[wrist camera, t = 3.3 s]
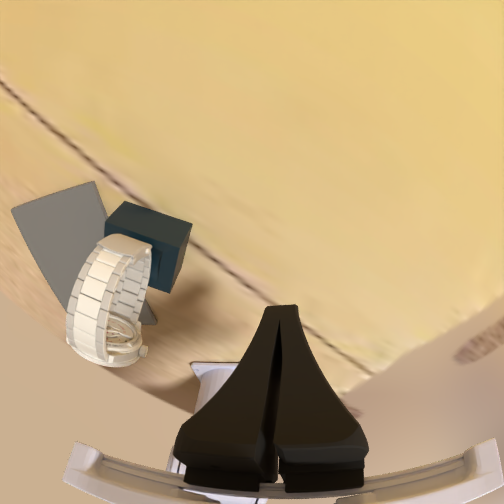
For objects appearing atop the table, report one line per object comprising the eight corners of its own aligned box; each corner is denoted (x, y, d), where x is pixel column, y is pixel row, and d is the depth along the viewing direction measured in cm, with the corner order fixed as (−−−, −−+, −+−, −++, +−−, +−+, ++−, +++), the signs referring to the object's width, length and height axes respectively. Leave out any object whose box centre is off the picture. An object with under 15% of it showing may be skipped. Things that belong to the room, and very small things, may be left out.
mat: (157, 322, 28) (155, 324, 27) (74, 318, 30) (72, 321, 30) (94, 180, 20) (91, 182, 19) (12, 208, 22) (10, 209, 21)
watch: (119, 263, 24) (57, 363, 15) (127, 180, 19) (30, 277, 10) (178, 284, 25) (134, 398, 16) (199, 203, 20) (136, 324, 11)
